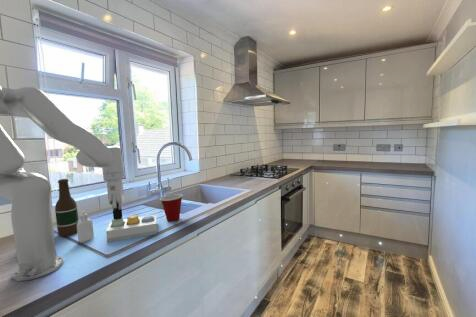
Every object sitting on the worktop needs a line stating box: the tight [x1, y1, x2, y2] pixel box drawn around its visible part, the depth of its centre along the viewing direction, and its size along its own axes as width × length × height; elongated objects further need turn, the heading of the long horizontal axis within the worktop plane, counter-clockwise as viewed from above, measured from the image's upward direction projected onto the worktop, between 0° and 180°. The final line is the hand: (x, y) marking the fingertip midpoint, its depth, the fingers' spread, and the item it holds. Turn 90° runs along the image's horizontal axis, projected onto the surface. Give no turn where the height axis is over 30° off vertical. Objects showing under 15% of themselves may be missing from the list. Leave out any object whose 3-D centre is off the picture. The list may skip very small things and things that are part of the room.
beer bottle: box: [54, 178, 80, 238], centre depth 104 cm, size 8×8×24 cm
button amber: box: [126, 214, 139, 225], centre depth 103 cm, size 4×4×4 cm
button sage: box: [111, 217, 124, 227], centre depth 101 cm, size 4×4×4 cm
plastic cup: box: [159, 193, 183, 223], centre depth 116 cm, size 11×11×12 cm
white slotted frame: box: [105, 214, 158, 243], centre depth 104 cm, size 12×19×4 cm, turn 110°
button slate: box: [142, 215, 153, 223], centre depth 106 cm, size 4×4×4 cm
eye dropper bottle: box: [76, 210, 95, 243], centre depth 97 cm, size 4×6×12 cm
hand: (118, 218), depth 102 cm, fingers closed
